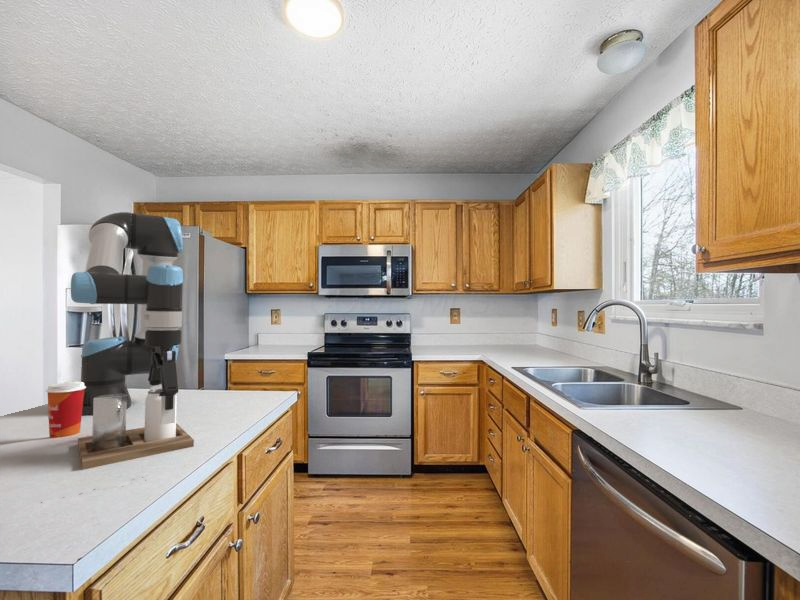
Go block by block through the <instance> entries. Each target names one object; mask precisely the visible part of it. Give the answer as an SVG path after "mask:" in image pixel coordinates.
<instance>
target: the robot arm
mask: <svg viewBox="0 0 800 600" xmlns="http://www.w3.org/2000/svg"><path fill="white" fill-rule="evenodd" d="M181 227H182V226H181V223H180V222H179V220H177V219H176V218H173V217H166V216H159V215H151V214H143V213H133V212H128V211H122V212H114V213H111V214H108V215H105V216H102V217H101V218H100V219H99V218H98V219H97V221H95V222H94V223H93V224H92V225H91V227H90V229H89V232H88V240H89V242H90V247H89V248H90V249H89V253H88V258H87V263H86V268H85V271H83V272H82V271H77V272H74V273H73V274H72V275H71V278H70V298H71V300H72V302H74V303H77V304H90V305H95V304H96V305H99V304H100V305H101V304H102V305H140V329H139V331H138V332H136V333H135V334H134V339H133V340H129V339H128V338H127V336H124V335H122V336H111V337H104V338H99V339H98V338H97V339H92V340H87V341H86V342H84V343H83V345H82V348H81V349H82V350H81V355H80V357H81V367H80V368H81V372H80V374H81V375H80V382H84V385H85V386H86V388H85V389H84V398H83V408H82V416H88V415H90V416H93V401H94V398H95V397H98V396H103V395H109V394H126V395H127V409H129V408H130V407H131V406H132V397H131V395H130V392H129V390H128V387H127V384H126V378H127V377H126V376H129V375H130V376H132V375H145V374H146V375H147V374H148V378H147V380H148V382H149V383H148V384H149V391H151V390H155V389H162V392H160V394H159V396H161V422H160V424H161V425H163V424H169V423H175V394H176V395H177V394H179V385H178V383H179V382H178V375H177V374H178V373H177V372H178V371H177V364H176V363H177V360H178V355H179V354H178V353H179V347H180V345H181V344H182V330H181V329H180V328H182V327H183V286H184V285H183V284H184V275H183V271H184V270H183V269H182V267H179V266H178V265H177V266H176V265H173V262H174V261H176V260H177V259H179V258H178V257H179V256H178V254H182V253H183V252H184V247H183V246H184V242H183V240H184V239H183V232H182V228H181ZM124 249H131V250H137V254H136V255H137V256H138V258H140V259H141V260H142V271H141V273H142V275H141V274H126V273H125V274H124V273H123V262H124V261H123V260H124V259H123V258H124ZM122 273H123V274H122ZM128 407H129V408H128Z"/></svg>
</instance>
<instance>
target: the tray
mask: <svg viewBox="0 0 800 600" xmlns="http://www.w3.org/2000/svg"><path fill="white" fill-rule="evenodd" d="M144 434H145V426H144V427H137V428H132V429H126V444H125V446H124V447H119V448H113V449H108V450H103V451H98V452H92V435H90V436H86V437H85V436H84V437H79V438H77V449H78V454H79V458H80V464H81V470H89V469H94V468H99V467H102V466H106V465H112V464H116V463H117V464H118V463H122V462H126V461H131V460H136V459H140V458H145V457H150V456H155V455H160V454H164V453H168V452H175V451H179V450H184V449H187V448H192V447H194V446H195V440H194V438H192V436H190V435H189V434H188V432H186V430H184V429H183V428H182V427H181V426H180V425H179V424H178V423H177V422H176V437H172V438H166V439H161V440H156V441H151V442H145V441H144Z"/></svg>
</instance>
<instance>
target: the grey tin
mask: <svg viewBox="0 0 800 600" xmlns="http://www.w3.org/2000/svg"><path fill="white" fill-rule="evenodd" d="M127 409H128V408H127V395H126V394H109V395H103V396H98V397H95V398H94V401H93V415H92V431H91V432H92V435H91V436H92V452H98V451H103V450H108V449H113V448H119V447H124V446H125V444H126V430H127V411H128V410H127Z"/></svg>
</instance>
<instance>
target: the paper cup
mask: <svg viewBox="0 0 800 600" xmlns="http://www.w3.org/2000/svg"><path fill="white" fill-rule="evenodd" d="M85 388H86V386H85V385H84V382H81V381H71V382H70V381H65V382H56V383H52V384H49V385H48V387H47V389H46V391H45V392H46V393H47V409H48V411H47V413H48V415H47V416H48V432H49V433H48V435H49V438H53V439H56V438H57V439H58V438H59V439H60V438H67V437H72V436H75V435H77V434H80V433H81V424H82V417H83V415H82V408H83V398H84V389H85Z"/></svg>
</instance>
